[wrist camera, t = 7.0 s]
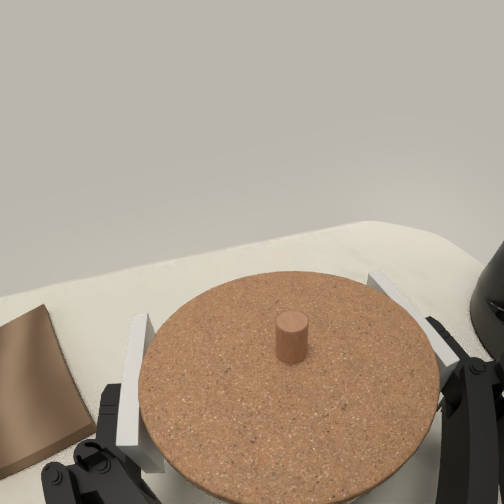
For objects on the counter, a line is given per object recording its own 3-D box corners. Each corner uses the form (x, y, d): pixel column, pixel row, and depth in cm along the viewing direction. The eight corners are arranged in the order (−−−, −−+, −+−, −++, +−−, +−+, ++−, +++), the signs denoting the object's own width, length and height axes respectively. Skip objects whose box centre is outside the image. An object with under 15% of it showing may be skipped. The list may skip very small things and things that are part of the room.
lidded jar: (219, 558, 8) (139, 547, 3) (172, 397, 17) (121, 271, 12) (419, 472, 10) (517, 360, 6) (328, 349, 19) (341, 222, 15)
